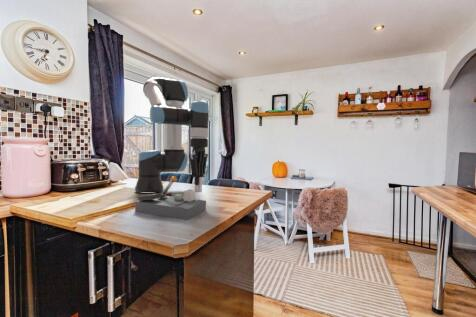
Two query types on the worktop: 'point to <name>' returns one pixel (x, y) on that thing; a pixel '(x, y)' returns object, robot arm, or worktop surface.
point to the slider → (189, 195)
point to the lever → (168, 186)
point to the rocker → (149, 196)
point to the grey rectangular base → (171, 207)
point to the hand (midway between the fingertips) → (198, 191)
